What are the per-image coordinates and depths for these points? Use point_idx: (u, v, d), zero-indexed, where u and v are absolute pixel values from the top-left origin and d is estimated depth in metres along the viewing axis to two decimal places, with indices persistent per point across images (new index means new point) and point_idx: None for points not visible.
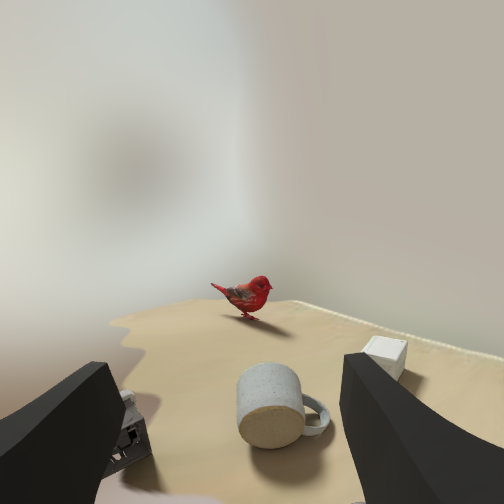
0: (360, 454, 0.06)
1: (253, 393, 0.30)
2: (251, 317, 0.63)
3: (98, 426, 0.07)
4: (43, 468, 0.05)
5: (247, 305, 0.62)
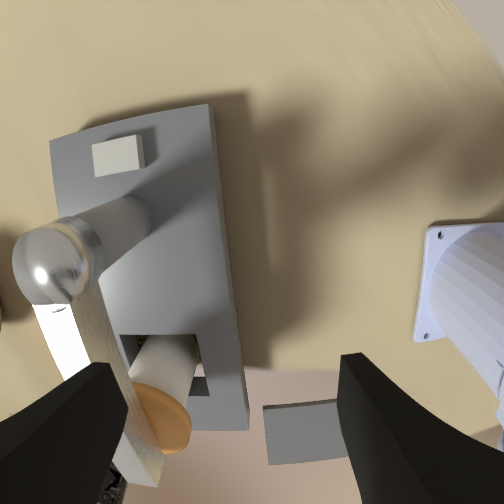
0: (357, 455, 0.06)
1: None
2: None
3: (101, 426, 0.07)
4: (46, 469, 0.05)
5: None
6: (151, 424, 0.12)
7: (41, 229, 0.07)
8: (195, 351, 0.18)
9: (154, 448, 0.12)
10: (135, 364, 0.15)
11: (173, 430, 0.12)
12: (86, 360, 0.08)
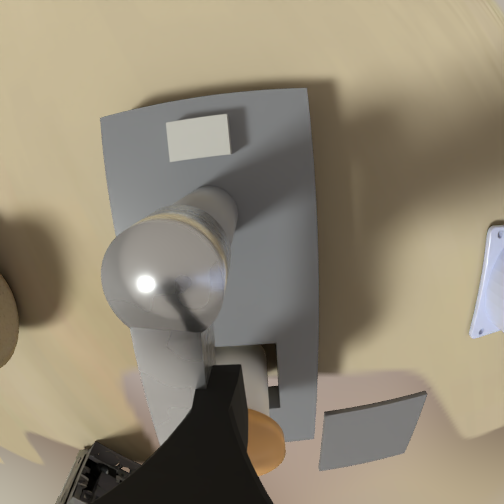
0: None
1: None
2: None
3: (241, 437, 0.07)
4: None
5: None
6: None
7: (172, 221, 0.06)
8: (265, 360, 0.17)
9: None
10: None
11: (268, 452, 0.11)
12: None
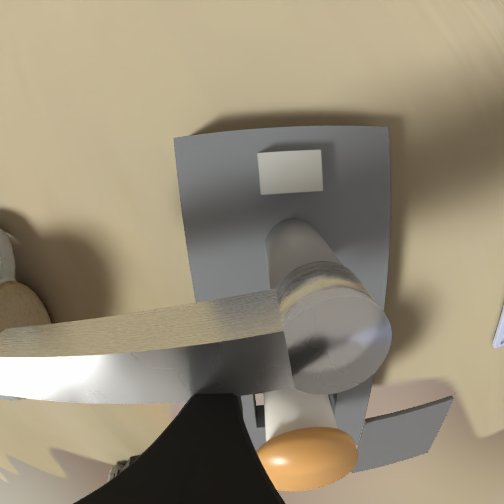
0: None
1: None
2: None
3: None
4: None
5: None
6: (321, 464, 0.11)
7: None
8: None
9: None
10: (282, 404, 0.14)
11: (342, 464, 0.11)
12: None
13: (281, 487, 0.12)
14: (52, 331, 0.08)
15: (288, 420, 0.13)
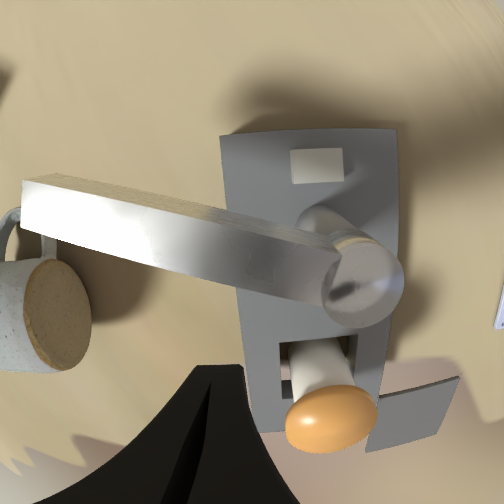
0: None
1: (19, 365, 0.13)
2: None
3: None
4: None
5: None
6: (345, 422, 0.13)
7: None
8: None
9: None
10: (309, 369, 0.16)
11: (363, 422, 0.13)
12: (257, 288, 0.08)
13: (308, 448, 0.14)
14: (121, 189, 0.09)
15: (315, 382, 0.15)
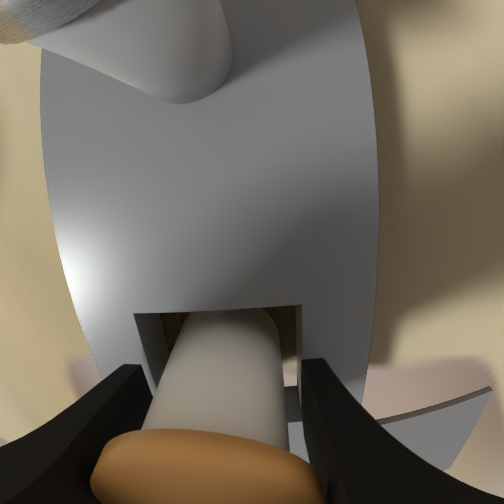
0: (314, 461, 0.06)
1: None
2: None
3: None
4: (82, 481, 0.04)
5: None
6: None
7: None
8: (279, 342, 0.10)
9: None
10: (173, 376, 0.07)
11: None
12: None
13: None
14: None
15: (168, 408, 0.06)
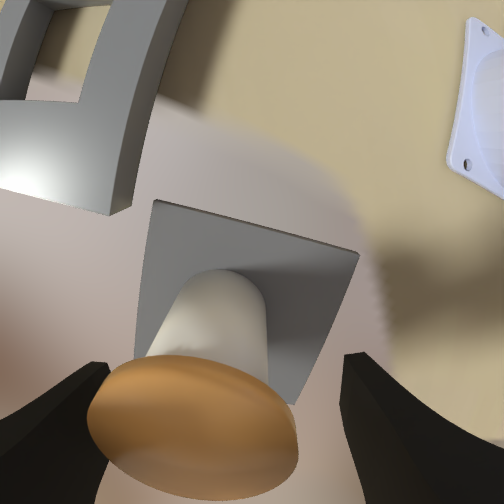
0: (360, 454, 0.06)
1: None
2: None
3: None
4: (43, 468, 0.05)
5: None
6: (212, 450, 0.05)
7: None
8: (263, 308, 0.11)
9: None
10: (164, 330, 0.08)
11: (263, 456, 0.05)
12: None
13: (164, 487, 0.06)
14: None
15: (157, 352, 0.07)
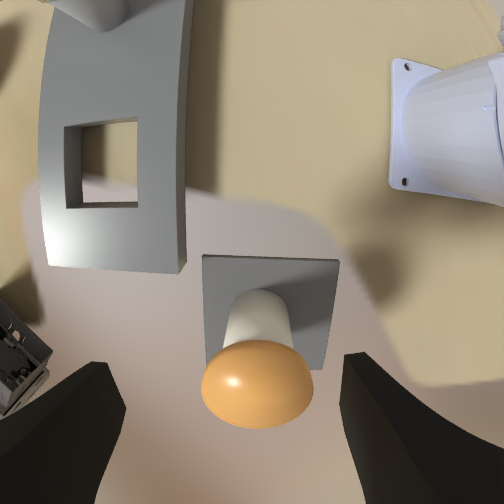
0: (360, 454, 0.06)
1: None
2: None
3: (98, 426, 0.07)
4: (43, 468, 0.05)
5: None
6: (269, 386, 0.12)
7: None
8: (284, 307, 0.18)
9: None
10: (230, 333, 0.15)
11: (294, 384, 0.12)
12: None
13: (246, 423, 0.13)
14: None
15: (230, 344, 0.14)
